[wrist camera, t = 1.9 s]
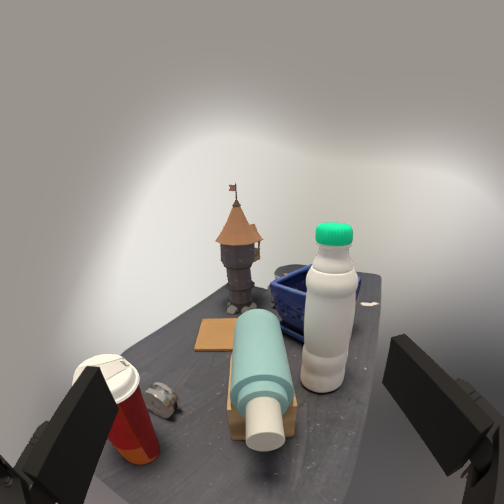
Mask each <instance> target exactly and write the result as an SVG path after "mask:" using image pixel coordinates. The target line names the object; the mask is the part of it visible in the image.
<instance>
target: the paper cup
mask: <svg viewBox="0 0 504 504" xmlns="http://www.w3.org/2000/svg"><path fill="white" fill-rule="evenodd" d="M86 366H96V367H100V369H101V372H102V374H103V376H104V378H105V381H106V383H107V385H108V387H109V389H110V391H111V394H112V396H113V398H114V400H115V402H116V404H117V406H118V408H119V411H118V414H117V416H116V418H115V421H114V423H113V426H112V428H111V430H110V433H109V435H108V439H109V440H110V442H111V443H112V444H113V445H114V447H115V448H116V449H117V450H118V452H119V453H120V454H121V455H122V456H123V457H124V458H125V459H126V460H127V461H129V462H131V463H133V464H147V463H150V462H152V461H153V460H154V459H155V458H156V457H157V456H158V454H159V451H160V446H159V442H158V439H157V437H156V434H155V431H154V428H153V426H152V423H151V419H150V416H149V413H148V411H147V408H146V405H145V402H144V399H143V397H142V393H141V390H140V387H139V374H138V371H137V370H136V369H135V368H134V367H133V366H132V365H131V364H130V363H129V362H127V361H126V360H125V359H124V358H123V357H122V356H119V355H114V354H103V355H98V356H94V357H92V358H89V359H87V360H85V361H84V362H82V363H81V364H80V365H79V366H78V367H77V369H76V371H75V373H74V377H73V382H72V385H73V384H74V383H75V381H76V380H77V378H78V377H79V376H80V374H81V373H82V371H83V370H84V368H85V367H86Z"/></svg>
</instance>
